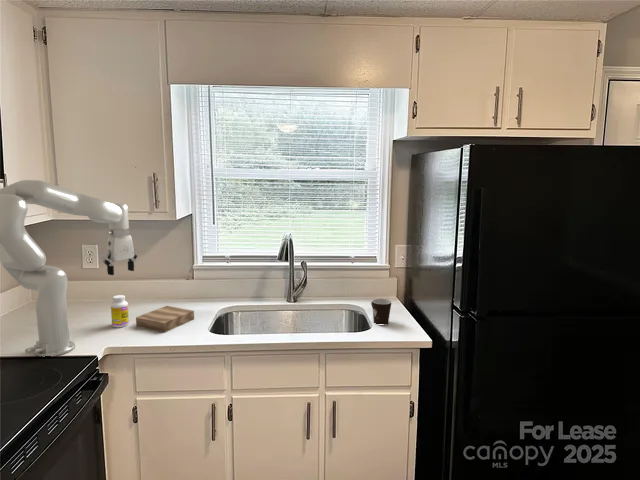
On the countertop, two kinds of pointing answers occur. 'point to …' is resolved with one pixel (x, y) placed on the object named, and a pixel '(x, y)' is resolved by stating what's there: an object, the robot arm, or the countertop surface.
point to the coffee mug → (381, 310)
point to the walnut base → (165, 318)
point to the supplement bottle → (119, 311)
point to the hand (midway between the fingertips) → (121, 272)
